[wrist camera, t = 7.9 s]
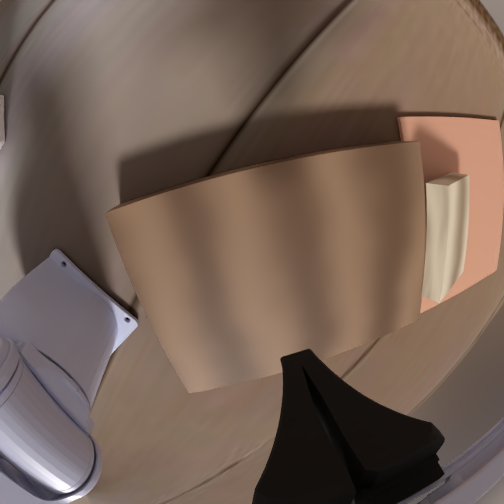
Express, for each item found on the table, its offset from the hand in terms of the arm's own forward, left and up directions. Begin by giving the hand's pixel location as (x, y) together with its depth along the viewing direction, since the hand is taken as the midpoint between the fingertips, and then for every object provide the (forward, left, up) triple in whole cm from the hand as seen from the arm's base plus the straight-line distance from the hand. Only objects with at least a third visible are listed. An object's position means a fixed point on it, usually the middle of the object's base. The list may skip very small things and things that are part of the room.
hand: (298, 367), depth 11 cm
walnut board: (+1, +2, -10) cm, 11 cm away
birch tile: (+9, +14, -9) cm, 19 cm away
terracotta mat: (+12, +20, -10) cm, 25 cm away
